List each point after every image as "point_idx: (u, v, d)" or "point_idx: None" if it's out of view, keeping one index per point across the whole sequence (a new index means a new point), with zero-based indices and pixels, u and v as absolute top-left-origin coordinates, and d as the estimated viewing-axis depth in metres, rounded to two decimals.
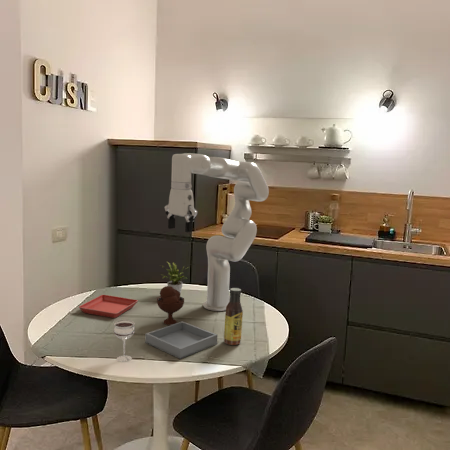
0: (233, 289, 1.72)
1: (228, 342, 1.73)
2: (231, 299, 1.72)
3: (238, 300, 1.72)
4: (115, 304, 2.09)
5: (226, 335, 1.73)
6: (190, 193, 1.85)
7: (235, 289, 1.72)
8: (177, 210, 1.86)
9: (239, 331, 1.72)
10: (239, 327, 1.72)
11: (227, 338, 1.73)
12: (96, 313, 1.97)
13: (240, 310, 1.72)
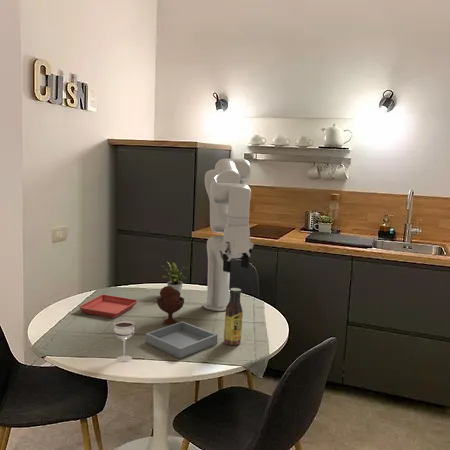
0: (233, 289, 1.72)
1: (228, 342, 1.73)
2: (231, 299, 1.72)
3: (238, 300, 1.72)
4: (115, 304, 2.09)
5: (226, 335, 1.73)
6: None
7: (235, 289, 1.72)
8: (243, 248, 1.69)
9: (239, 331, 1.72)
10: (239, 327, 1.72)
11: (227, 338, 1.73)
12: (96, 313, 1.97)
13: (240, 310, 1.72)
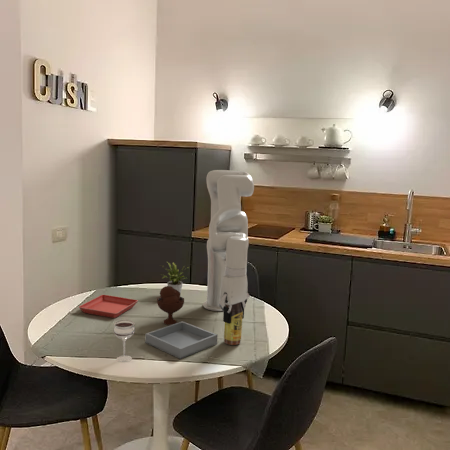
0: None
1: (228, 342, 1.73)
2: None
3: None
4: (115, 304, 2.09)
5: (226, 335, 1.73)
6: None
7: None
8: (240, 297, 1.72)
9: (239, 331, 1.72)
10: (239, 327, 1.72)
11: (227, 338, 1.73)
12: (96, 313, 1.97)
13: (240, 310, 1.72)
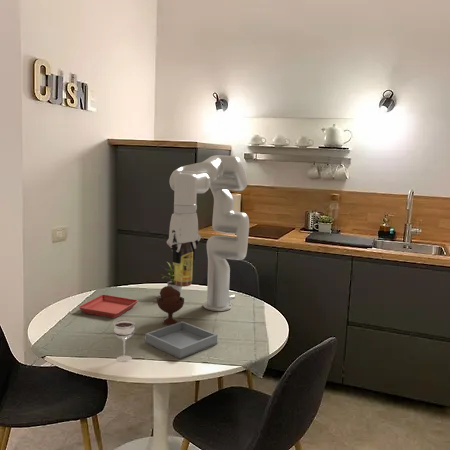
0: None
1: (178, 283, 1.66)
2: None
3: None
4: (115, 304, 2.09)
5: (176, 276, 1.67)
6: None
7: None
8: (190, 236, 1.66)
9: (189, 272, 1.66)
10: (188, 268, 1.66)
11: (177, 279, 1.66)
12: (96, 313, 1.97)
13: (190, 250, 1.66)
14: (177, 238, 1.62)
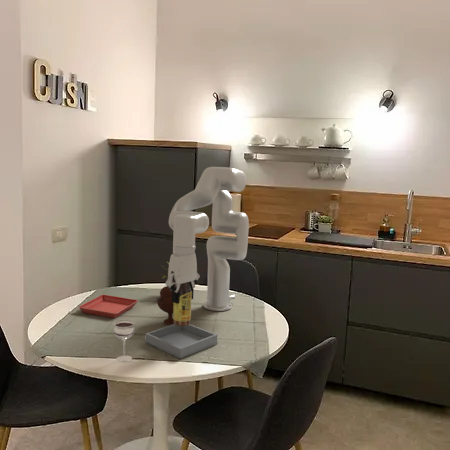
0: None
1: (176, 323, 1.69)
2: None
3: None
4: (115, 304, 2.09)
5: (174, 316, 1.69)
6: None
7: None
8: (189, 277, 1.68)
9: (188, 311, 1.68)
10: (187, 308, 1.68)
11: (175, 319, 1.68)
12: (96, 313, 1.97)
13: (188, 290, 1.68)
14: (176, 279, 1.64)
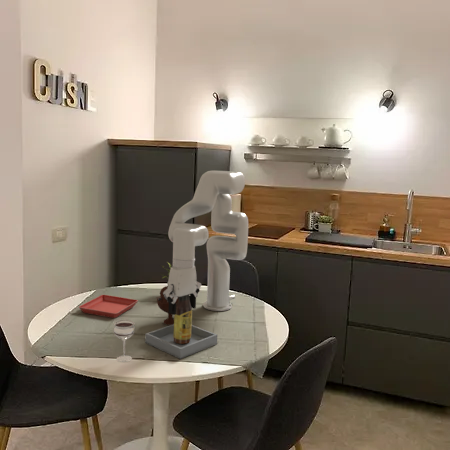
0: None
1: (177, 341, 1.70)
2: (180, 297, 1.70)
3: (187, 298, 1.69)
4: (115, 304, 2.09)
5: (175, 334, 1.70)
6: None
7: None
8: (188, 289, 1.69)
9: (188, 330, 1.70)
10: (187, 326, 1.70)
11: (176, 337, 1.70)
12: (96, 313, 1.97)
13: (189, 308, 1.69)
14: (176, 292, 1.65)
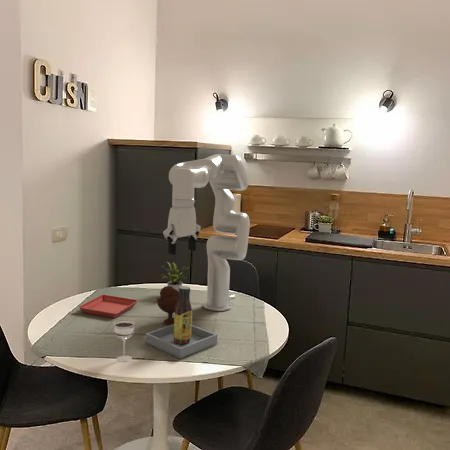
0: (182, 287, 1.70)
1: (177, 341, 1.70)
2: (180, 297, 1.70)
3: (187, 298, 1.69)
4: (115, 304, 2.09)
5: (175, 334, 1.70)
6: None
7: (184, 287, 1.70)
8: (188, 230, 1.68)
9: (188, 330, 1.70)
10: (188, 326, 1.70)
11: (176, 337, 1.70)
12: (96, 313, 1.97)
13: (189, 308, 1.69)
14: (175, 232, 1.64)
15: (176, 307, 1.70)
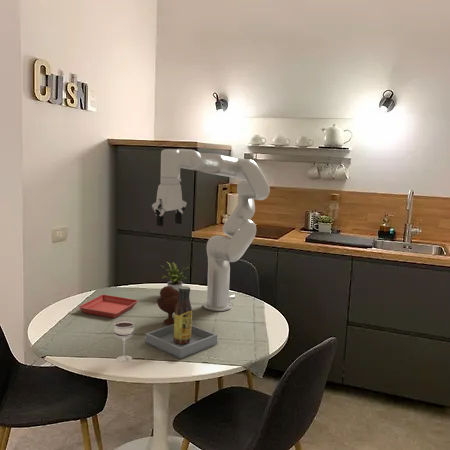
0: (182, 287, 1.70)
1: (177, 341, 1.70)
2: (180, 297, 1.70)
3: (187, 298, 1.70)
4: (115, 304, 2.09)
5: (175, 334, 1.70)
6: None
7: (184, 287, 1.70)
8: (174, 205, 1.90)
9: (188, 330, 1.70)
10: (188, 326, 1.70)
11: (176, 337, 1.70)
12: (96, 313, 1.97)
13: (189, 308, 1.69)
14: (163, 205, 1.86)
15: (176, 307, 1.70)
